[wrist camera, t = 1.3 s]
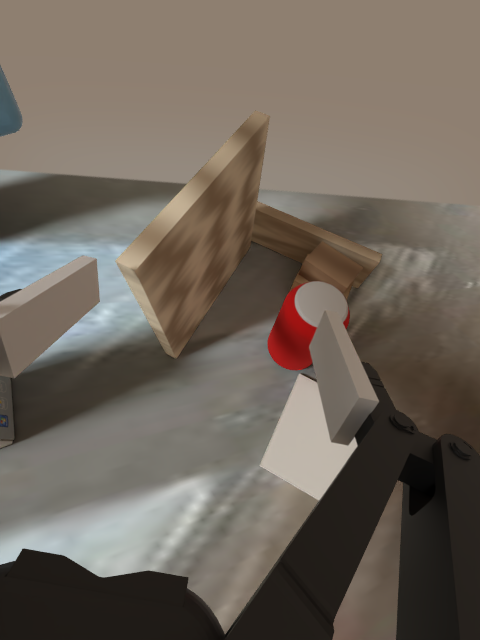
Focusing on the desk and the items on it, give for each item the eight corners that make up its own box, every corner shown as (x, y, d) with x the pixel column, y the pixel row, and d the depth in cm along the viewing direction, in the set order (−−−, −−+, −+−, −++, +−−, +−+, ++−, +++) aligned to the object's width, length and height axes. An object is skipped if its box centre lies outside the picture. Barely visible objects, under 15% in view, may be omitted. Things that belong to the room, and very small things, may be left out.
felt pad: (259, 465, 29) (259, 465, 28) (298, 374, 33) (299, 373, 33) (358, 523, 27) (361, 525, 27) (385, 419, 32) (388, 419, 31)
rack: (303, 428, 31) (397, 403, 14) (165, 353, 33) (115, 260, 17) (360, 280, 40) (456, 165, 24) (249, 231, 43) (267, 97, 26)
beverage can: (287, 317, 37) (315, 262, 26) (323, 349, 35) (370, 304, 24) (256, 348, 34) (272, 301, 24) (293, 383, 33) (330, 350, 22)
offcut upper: (336, 301, 34) (346, 288, 32) (298, 273, 36) (304, 259, 33) (352, 281, 36) (363, 267, 33) (314, 256, 37) (322, 240, 35)
